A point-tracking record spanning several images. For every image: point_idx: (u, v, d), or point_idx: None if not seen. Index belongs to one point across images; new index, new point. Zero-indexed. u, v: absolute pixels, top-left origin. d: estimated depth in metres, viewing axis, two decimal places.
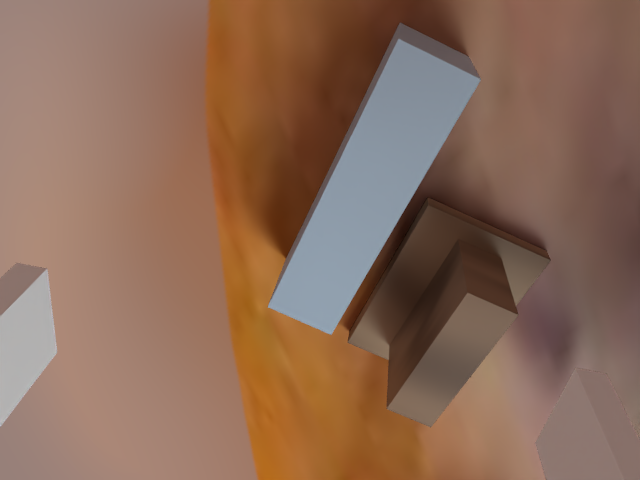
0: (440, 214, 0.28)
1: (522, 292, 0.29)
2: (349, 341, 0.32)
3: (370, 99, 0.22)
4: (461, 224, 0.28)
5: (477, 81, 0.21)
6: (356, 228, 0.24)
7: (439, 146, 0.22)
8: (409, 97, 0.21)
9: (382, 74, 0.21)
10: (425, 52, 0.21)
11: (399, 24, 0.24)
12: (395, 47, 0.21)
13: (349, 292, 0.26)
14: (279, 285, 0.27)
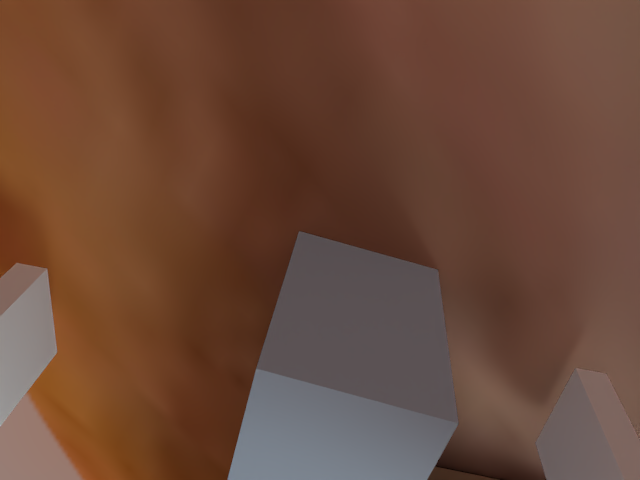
0: None
1: None
2: None
3: (234, 463, 0.10)
4: None
5: (451, 427, 0.09)
6: None
7: None
8: (312, 457, 0.10)
9: (244, 425, 0.10)
10: (323, 384, 0.09)
11: None
12: (255, 383, 0.09)
13: None
14: None
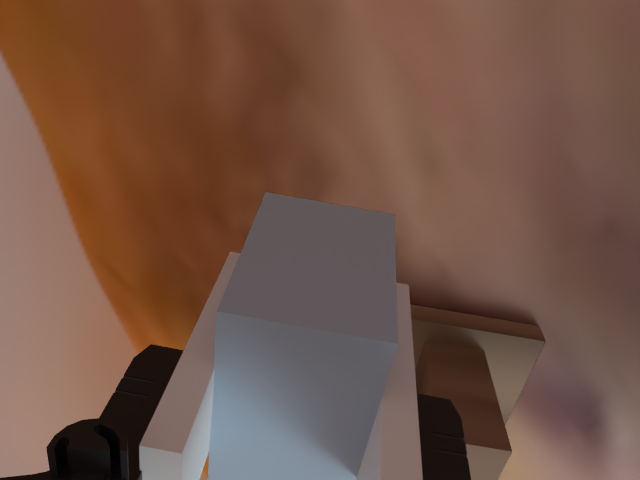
0: None
1: (522, 381, 0.23)
2: None
3: (214, 399, 0.12)
4: (423, 325, 0.22)
5: (392, 348, 0.10)
6: None
7: (364, 443, 0.12)
8: (279, 388, 0.11)
9: (216, 364, 0.11)
10: (276, 320, 0.10)
11: (260, 205, 0.14)
12: (218, 324, 0.11)
13: None
14: None
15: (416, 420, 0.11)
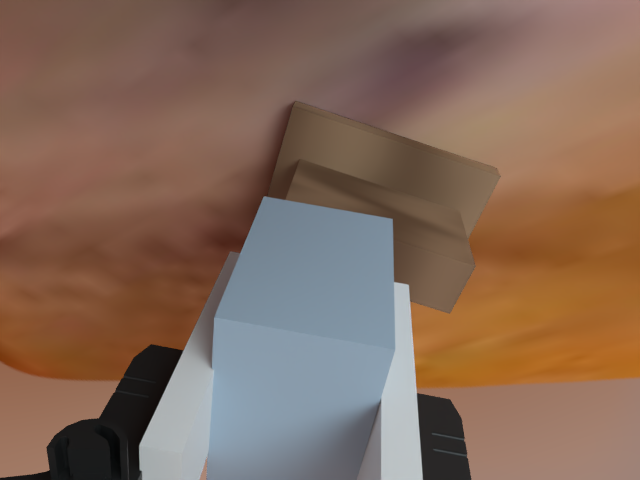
0: None
1: (340, 126, 0.25)
2: None
3: (212, 405, 0.12)
4: None
5: (389, 353, 0.10)
6: None
7: (362, 447, 0.12)
8: (278, 393, 0.11)
9: (214, 370, 0.11)
10: (273, 326, 0.10)
11: (258, 210, 0.14)
12: (215, 330, 0.11)
13: None
14: None
15: (416, 420, 0.11)
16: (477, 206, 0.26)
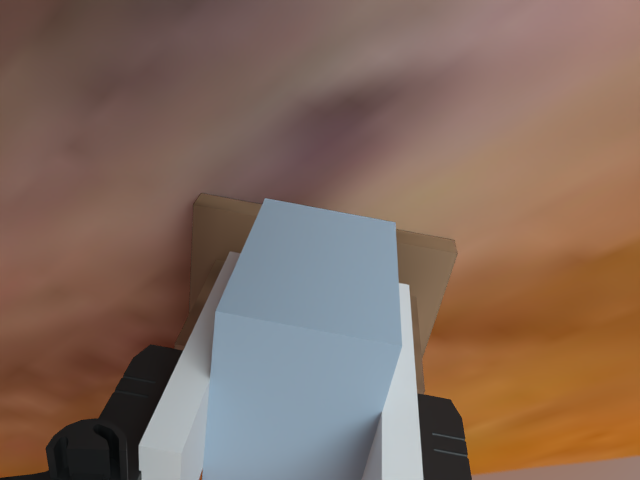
0: None
1: (254, 219, 0.20)
2: None
3: (210, 406, 0.11)
4: None
5: (396, 350, 0.10)
6: None
7: (365, 453, 0.12)
8: (279, 393, 0.11)
9: (213, 368, 0.11)
10: (276, 321, 0.10)
11: (259, 211, 0.14)
12: (216, 325, 0.10)
13: None
14: None
15: (416, 420, 0.11)
16: (436, 289, 0.21)
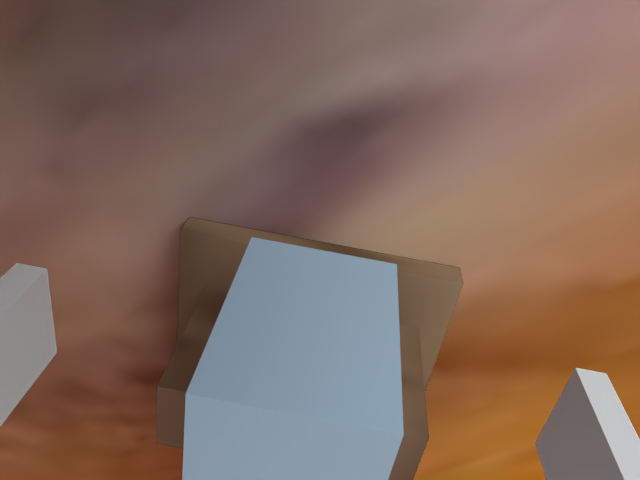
0: None
1: (245, 246, 0.19)
2: None
3: None
4: None
5: (397, 439, 0.09)
6: None
7: None
8: (262, 479, 0.10)
9: (186, 452, 0.09)
10: (257, 405, 0.09)
11: None
12: (187, 408, 0.09)
13: None
14: None
15: None
16: (440, 320, 0.20)
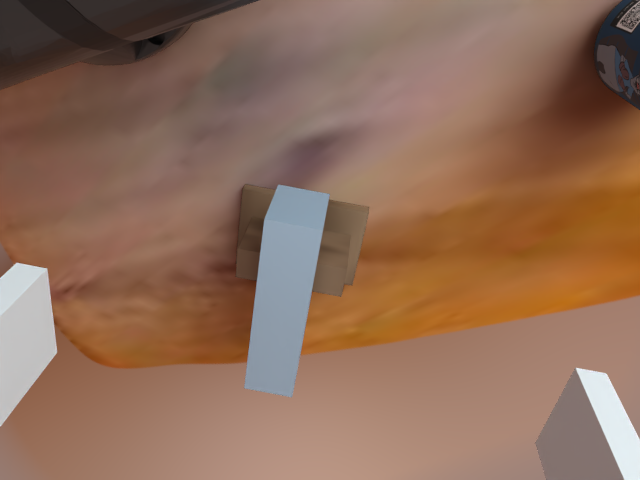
0: None
1: (271, 196, 0.43)
2: (350, 284, 0.46)
3: (261, 254, 0.33)
4: (240, 244, 0.45)
5: (320, 231, 0.32)
6: (282, 328, 0.36)
7: (313, 271, 0.34)
8: (284, 248, 0.33)
9: (262, 239, 0.33)
10: (283, 222, 0.32)
11: (276, 189, 0.36)
12: (264, 224, 0.32)
13: (293, 368, 0.38)
14: (246, 373, 0.39)
15: None
16: (360, 231, 0.43)
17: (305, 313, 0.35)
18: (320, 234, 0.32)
